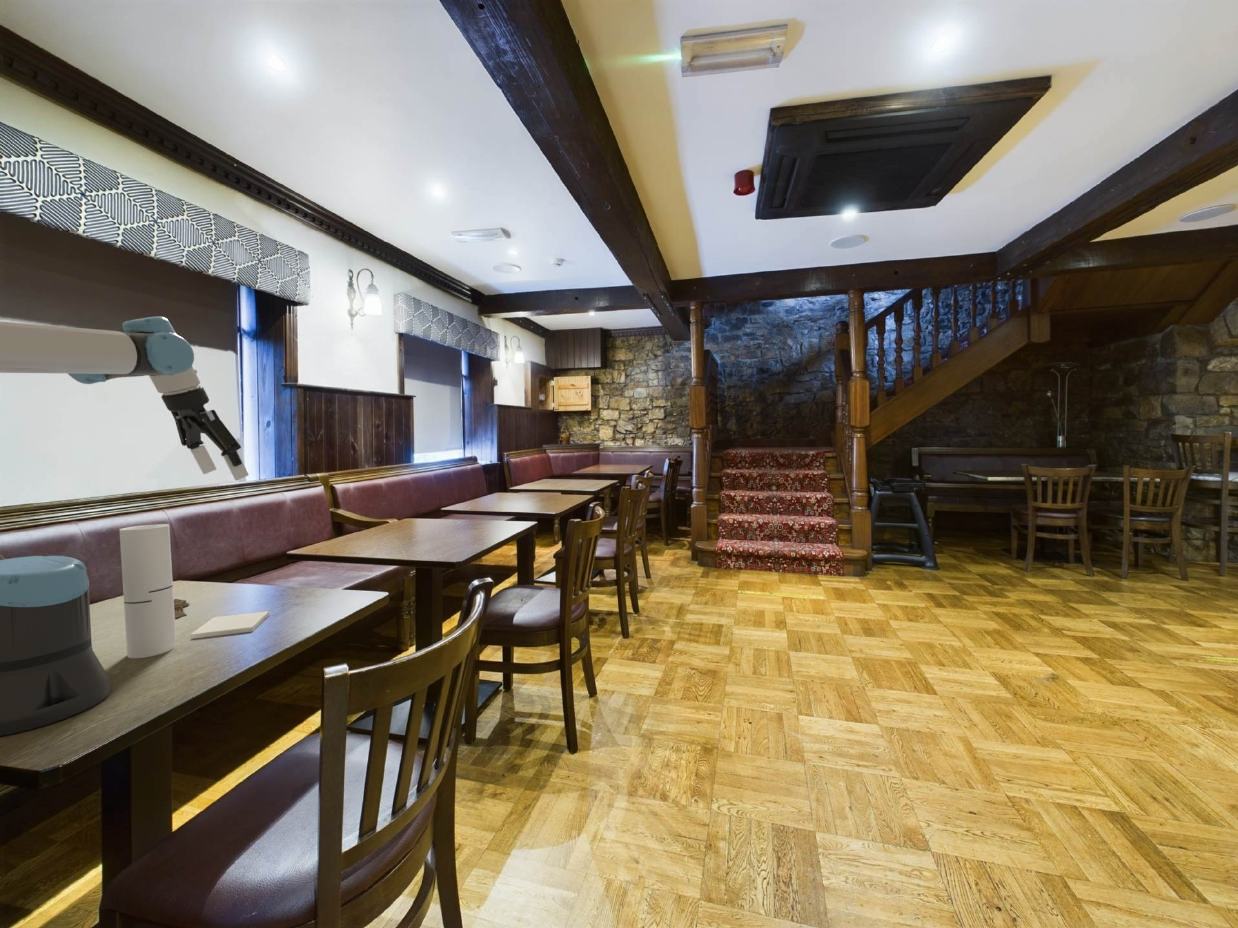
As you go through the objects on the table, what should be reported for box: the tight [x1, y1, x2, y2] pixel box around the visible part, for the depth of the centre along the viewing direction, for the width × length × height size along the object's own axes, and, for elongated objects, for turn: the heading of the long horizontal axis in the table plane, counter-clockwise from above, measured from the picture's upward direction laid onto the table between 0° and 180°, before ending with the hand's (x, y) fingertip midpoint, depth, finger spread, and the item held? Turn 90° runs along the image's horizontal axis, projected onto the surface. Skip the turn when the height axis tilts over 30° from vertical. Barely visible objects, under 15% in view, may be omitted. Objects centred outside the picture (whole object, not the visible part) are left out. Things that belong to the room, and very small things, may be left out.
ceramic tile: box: [190, 610, 270, 640], centre depth 112 cm, size 11×11×1 cm
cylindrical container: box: [119, 523, 177, 659], centre depth 98 cm, size 7×7×25 cm
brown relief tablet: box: [174, 598, 190, 620], centre depth 123 cm, size 26×11×1 cm, turn 39°
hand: (225, 474), depth 118 cm, fingers open, 13 cm apart
